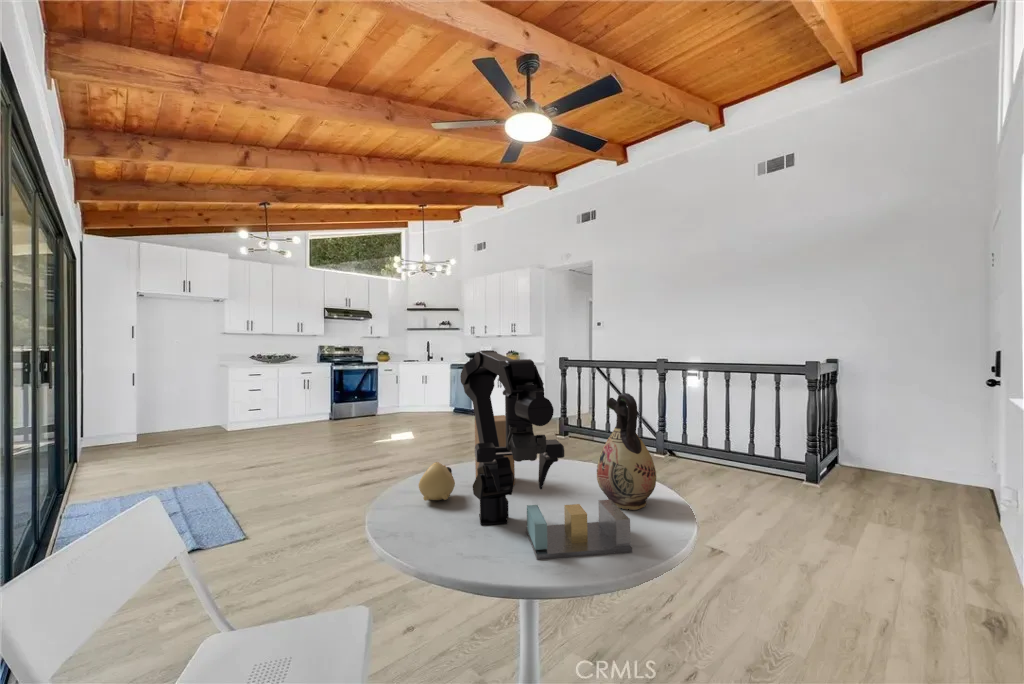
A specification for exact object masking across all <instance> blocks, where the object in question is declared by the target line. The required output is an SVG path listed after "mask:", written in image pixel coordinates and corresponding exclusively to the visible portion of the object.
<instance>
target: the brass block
mask: <svg viewBox="0 0 1024 684" xmlns="http://www.w3.org/2000/svg"><path fill="white" fill-rule="evenodd" d="M563 507H564V508H563V509H564V515H563V516H564V524H565V533H566V535H567V536H568V538H569V540H570V541H571V543H582V542H588V535H587V523H588V513H587V512H586V510H585V509H584V508H583V507H582V505H581V504H580V503H574V504H564V505H563Z"/></svg>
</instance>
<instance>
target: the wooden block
mask: <svg viewBox="0 0 1024 684" xmlns="http://www.w3.org/2000/svg"><path fill="white" fill-rule="evenodd" d="M494 419H495V425H496V430H497V436H498V441H499V447H505V446H506V421H505V415H504V414H500V415H499V414H498V415H494ZM477 443H479V437H478V431H477V425H476V419H475V418H474V447H475V446H476V444H477ZM504 457H508V458H509V460H510V465H511V470H512V472H513V475H514V484H513V487H514V486H515V482H516V478H515V477H516V476H515V471H516V470H515V469H516V468H515V460H514V459H513V455H506V456H504ZM474 459H475V461H474V462H475V463H474V464H475V465H474V466H475V478H476V477H477V475H478V472H477V468H478V466H479V463H480V462H477V461H476V458H475V457H474Z"/></svg>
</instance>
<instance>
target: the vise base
mask: <svg viewBox="0 0 1024 684" xmlns="http://www.w3.org/2000/svg"><path fill="white" fill-rule="evenodd" d="M525 532H526V534H527V537H528V539H529V542H530V545H531V549H532V551H533V553H534V556H535V558H536V560H537V561H538V560H548V559H563V558H575V557H576V558H577V557H588V556H589V557H590V556H605V555H616V554H625V553H626V554H627V553H633V547H632V545H631V519H630V518H629V516H628V515H627V514H626V513H625V512H624V511H623V509H621V508H619V507H618V506H617V505H616V504H615V503H614V502H613V501H612V500H609V499H599V500H598V521H595V522H587V535H588V542H582V543H571V541H570V540H569V538H568V536H567V535H566V533H565V523H563V524H551V525H548V524H547V549H541V550H535V547H534V545H533V542H532V540H531V537H530V535H529V532H528V529H527V526H526V527H525Z"/></svg>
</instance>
